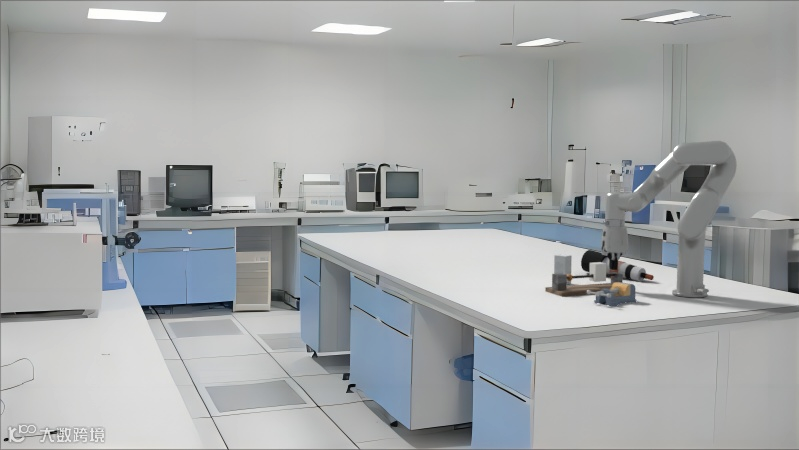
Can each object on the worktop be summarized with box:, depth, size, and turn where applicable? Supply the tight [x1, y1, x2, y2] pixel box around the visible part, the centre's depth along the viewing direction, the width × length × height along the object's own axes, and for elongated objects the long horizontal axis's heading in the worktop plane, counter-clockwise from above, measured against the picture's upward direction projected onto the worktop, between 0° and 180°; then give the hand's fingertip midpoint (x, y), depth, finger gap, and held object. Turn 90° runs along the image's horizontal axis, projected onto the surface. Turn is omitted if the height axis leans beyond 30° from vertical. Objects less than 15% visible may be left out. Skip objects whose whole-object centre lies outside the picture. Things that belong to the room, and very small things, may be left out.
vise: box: [587, 282, 638, 307], centre depth 283 cm, size 18×10×7 cm, turn 127°
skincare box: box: [553, 253, 573, 285], centre depth 323 cm, size 6×4×12 cm
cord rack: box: [544, 272, 624, 297], centre depth 305 cm, size 12×30×8 cm, turn 111°
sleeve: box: [588, 262, 607, 283], centre depth 306 cm, size 4×5×7 cm
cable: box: [580, 249, 655, 282], centre depth 338 cm, size 10×34×10 cm, turn 38°
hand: (613, 269), depth 309 cm, fingers closed
